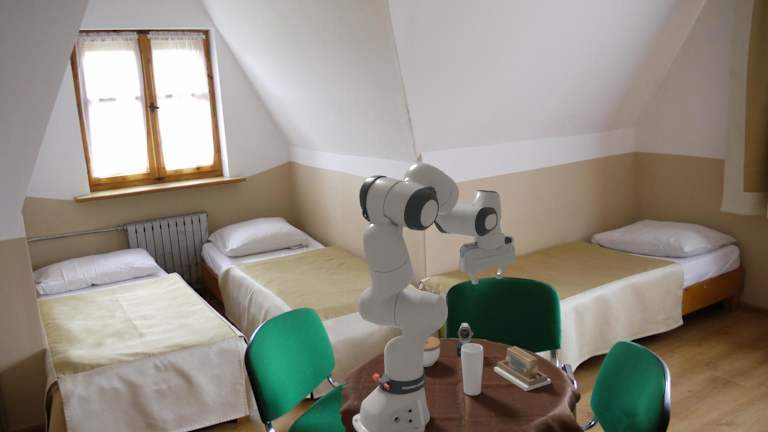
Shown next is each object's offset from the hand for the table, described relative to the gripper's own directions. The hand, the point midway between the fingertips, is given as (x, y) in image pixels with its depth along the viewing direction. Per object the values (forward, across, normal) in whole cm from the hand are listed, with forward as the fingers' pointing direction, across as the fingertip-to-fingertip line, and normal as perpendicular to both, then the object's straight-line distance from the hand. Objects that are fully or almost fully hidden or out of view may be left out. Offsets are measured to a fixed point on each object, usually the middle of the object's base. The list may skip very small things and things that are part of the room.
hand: (487, 280), depth 197 cm
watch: (+31, +1, +14) cm, 34 cm away
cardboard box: (+30, +6, -10) cm, 32 cm away
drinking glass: (+31, -13, -10) cm, 35 cm away
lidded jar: (+31, -15, +15) cm, 38 cm away
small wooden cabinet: (+31, +6, -10) cm, 33 cm away
